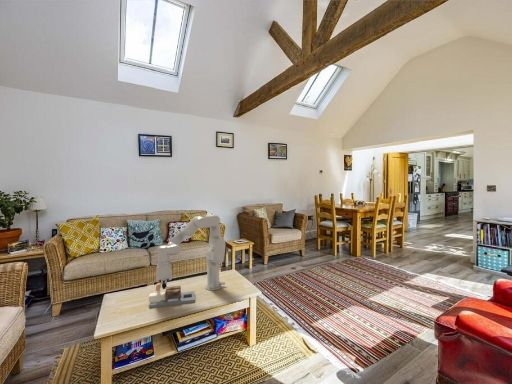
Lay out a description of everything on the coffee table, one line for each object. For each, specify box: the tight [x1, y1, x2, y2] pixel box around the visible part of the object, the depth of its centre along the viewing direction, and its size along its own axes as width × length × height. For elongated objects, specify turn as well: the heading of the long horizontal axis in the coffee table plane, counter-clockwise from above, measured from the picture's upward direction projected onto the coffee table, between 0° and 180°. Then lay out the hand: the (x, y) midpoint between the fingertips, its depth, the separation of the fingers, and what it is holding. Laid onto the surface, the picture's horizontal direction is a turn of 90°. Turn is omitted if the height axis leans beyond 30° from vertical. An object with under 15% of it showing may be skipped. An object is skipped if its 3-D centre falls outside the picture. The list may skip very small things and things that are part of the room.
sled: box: [148, 282, 165, 303], centre depth 174 cm, size 12×7×10 cm, turn 105°
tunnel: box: [164, 285, 182, 302], centre depth 177 cm, size 10×9×6 cm
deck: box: [149, 291, 196, 309], centre depth 177 cm, size 30×14×2 cm, turn 105°
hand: (164, 288), depth 175 cm, fingers closed
